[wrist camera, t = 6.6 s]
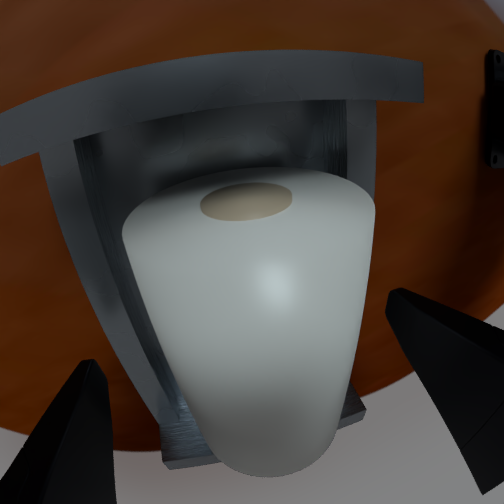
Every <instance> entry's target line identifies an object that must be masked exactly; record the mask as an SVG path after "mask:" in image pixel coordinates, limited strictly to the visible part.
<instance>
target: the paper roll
mask: <svg viewBox="0 0 504 504" xmlns="http://www.w3.org/2000/svg"><path fill="white" fill-rule="evenodd" d="M374 221H375V205H374V203H373V200H372V198H371V197H370V196H369V194H368V193H367V192H366V191H365V190H363V189H362V188H361V187H359V186H358V185H356V184H355V183H353V182H351V181H349V180H347V179H344V178H341V177H339V176H336V175H332V174H329V173H325V172H321V171H315V170H309V169H302V168H290V167H257V168H244V169H236V170H229V171H223V172H218V173H213V174H208V175H204V176H200V177H197V178H193V179H190V180H187V181H184V182H181V183H179V184H176V185H174V186H171V187H169V188H167V189H164V190H162V191H160V192H158V193H157V194H155V195H153V196H151V197H150V198H148V199H147V200H145V201H144V202H142V203H141V204H140V205H139V206H137V207H136V208H135V209H134V210H133V211H132V212H131V213H130V215H129V216H128V218H127V219H126V221H125V223H124V225H123V229H122V237H123V242H124V245H125V248H126V252H127V255H128V258H129V261H130V264H131V267H132V270H133V273H134V276H135V279H136V282H137V285H138V288H139V290H140V293H141V296H142V299H143V302H144V304H145V307H146V310H147V312H148V315H149V318H150V320H151V323H152V325H153V328H154V330H155V333H156V335H157V338H158V340H159V343H160V345H161V348H162V350H163V352H164V355H165V357H166V359H167V362H168V364H169V366H170V369H171V371H172V373H173V375H174V378H175V380H176V382H177V384H178V386H179V389H180V391H181V393H182V395H183V397H184V399H185V401H186V403H187V405H188V407H189V410H190V412H191V414H192V416H193V418H194V420H195V422H196V424H197V425H198V427H199V429H200V431H201V433H202V435H203V437H204V439H205V441H206V443H207V445H208V446H209V448H210V449H211V451H212V452H213V454H214V455H215V456H216V457H217V458H218V459H219V460H220V461H221V462H223V463H224V464H225V465H227V466H229V467H230V468H232V469H234V470H236V471H238V472H241V473H244V474H247V475H251V476H257V477H278V476H284V475H288V474H292V473H294V472H297V471H300V470H302V469H304V468H306V467H307V466H309V465H311V464H312V463H314V462H315V461H316V460H317V459H319V458H320V457H321V456H322V455H323V454H324V452H325V451H326V450H327V449H328V447H329V446H330V444H331V442H332V441H333V439H334V436H335V434H336V430H337V427H338V423H339V420H340V416H341V412H342V408H343V404H344V401H345V397H346V392H347V388H348V384H349V380H350V375H351V371H352V366H353V362H354V357H355V352H356V347H357V342H358V337H359V332H360V326H361V321H362V315H363V309H364V303H365V296H366V289H367V282H368V275H369V268H370V259H371V251H372V242H373V232H374Z"/></svg>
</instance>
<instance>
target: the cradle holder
mask: <svg viewBox="0 0 504 504" xmlns="http://www.w3.org/2000/svg"><path fill="white" fill-rule="evenodd" d="M376 100H388V101H405V102H417V103H424V84H423V62H418V61H413V60H407V59H401V58H395V57H388V56H381V55H372V54H363V53H353V52H340V51H322V50H263V51H244V52H231V53H221V54H211V55H203V56H195V57H188V58H182V59H175V60H170V61H164V62H159V63H154V64H149V65H144V66H139V67H135V68H130V69H126V70H122V71H118V72H114V73H110V74H107V75H103V76H100V77H96V78H93V79H89V80H86V81H83V82H80V83H77V84H73V85H70V86H67V87H65V88H62V89H59V90H56V91H53V92H51V93H48V94H45V95H43V96H40V97H38V98H35V99H33V100H30V101H28V102H25V103H23V104H21V105H19V106H16V107H14V108H12V109H10V110H7V111H5V112H3V113H1V114H0V164H1V166H3V165H5V164H8V163H10V162H13V161H15V160H18V159H20V158H23V157H25V156H28V155H31V154H33V153H36V152H39V154H40V158H41V163H42V167H43V170H44V174H45V178H46V182H47V185H48V189H49V192H50V196H51V199H52V202H53V206H54V209H55V212H56V215H57V218H58V221H59V224H60V227H61V230H62V233H63V236H64V239H65V241H66V244H67V247H68V249H69V252H70V255H71V257H72V260H73V262H74V265H75V267H76V270H77V272H78V275H79V277H80V280H81V282H82V284H83V287H84V289H85V291H86V294H87V296H88V298H89V300H90V302H91V305H92V307H93V309H94V311H95V313H96V315H97V317H98V319H99V322H100V324H101V326H102V328H103V330H104V332H105V334H106V336H107V338H108V339H109V341H110V343H111V345H112V347H113V349H114V351H115V353H116V355H117V356H118V358H119V360H120V362H121V364H122V365H123V367H124V369H125V371H126V372H127V374H128V376H129V378H130V379H131V381H132V383H133V384H134V386H135V388H136V389H137V391H138V393H139V394H140V396H141V398H142V399H143V401H144V402H145V404H146V405H147V407H148V409H149V410H150V412H151V413H152V415H153V416H154V418H155V419H156V421H157V422H158V424H159V431H160V442H161V452H162V461H163V463H164V464H165V465H166V466H167V467H168V469H170V470H172V469H180V468H187V467H194V466H201V465H207V464H213V463H218V462H221V461H220V460H219V459H218V458H217V457H216V456H215V455H214V454H213V452H212V451H211V449H210V448H209V446H208V445H207V443H206V441H205V439H204V437H203V435H202V433H201V431H200V429H199V427H198V425H197V424H196V422H195V420H194V418H193V416H192V414H191V412H190V410H189V407H188V405H187V403H186V401H185V399H184V397H183V395H182V393H181V391H180V389H179V386H178V384H177V382H176V380H175V378H174V375H173V373H172V371H171V369H170V366H169V364H168V362H167V359H166V357H165V355H164V352H163V350H162V348H161V345H160V343H159V340H158V338H157V335H156V333H155V330H154V328H153V325H152V323H151V320H150V318H149V315H148V312H147V310H146V307H145V304H144V302H143V299H142V296H141V293H140V290H139V288H138V285H137V282H136V279H135V276H134V273H133V270H132V267H131V264H130V261H129V258H128V255H127V252H126V248H125V245H124V242H123V237H122V229H123V225H124V223H125V221H126V219H127V218H128V216H129V215H130V213H131V212H132V211H133V210H134V209H135V208H136V207H137V206H139V205H140V204H141V203H142V202H144V201H145V200H147V199H148V198H150V197H151V196H153V195H155V194H157V193H158V192H160V191H162V190H164V189H167V188H169V187H171V186H174V185H176V184H179V183H181V182H184V181H187V180H190V179H193V178H197V177H200V176H204V175H208V174H213V173H218V172H223V171H229V170H236V169H244V168H257V167H290V168H302V169H309V170H315V171H321V172H325V173H329V174H332V175H336V176H339V177H341V178H344V179H347V180H349V181H351V182H353V183H355V184H356V185H358V186H359V187H361V188H362V189H363V190H365V191H366V192H367V193H368V194H369V196H370V197H371V198H372V200H373V203H374V189H375V168H376ZM365 412H366V408H365V406H364V404H363V402H362V401H361V399H360V397H359V396H358V394H357V392H356V390H355V389H354V387H353V385H352V384H351V382H350V380H349V384H348V388H347V392H346V397H345V401H344V404H343V408H342V412H341V416H340V420H339V423H338V427H337V430H338V429H340V428H343V427H345V426H348V425H351V424H353V423H356V422H358V421H361V420H362V419H363V417H364V415H365Z"/></svg>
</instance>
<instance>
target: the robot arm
mask: <svg viewBox="0 0 504 504" xmlns="http://www.w3.org/2000/svg"><path fill="white" fill-rule="evenodd" d="M488 72H489V110H488V130H487V143H486V154H485V163H486V165H487V166H489V167H491V168H504V53H503V52H501V51H499V50H492V49H490V50H489V51H488ZM385 314H386V317H387V320H388V322H389V324H390V326H391V327H392V329H393V331H394V334H395V336H396V338H397V340H398V342H399V344H400V346H401V348H402V350H403V352H404V354H405V355H406V357H407V359H408V360H409V362H410V364H411V365H412V367H413V369H414V370H415V372H416V373H417V375H418V377H419V378H420V380H421V382H422V383H423V385H424V387H425V388H426V390H427V392H428V394H429V395H430V397H431V399H432V401H433V402H434V404H435V405H436V407H437V409H438V411H439V413H440V414H441V416H442V418H443V420H444V422H445V424H446V425H447V427H448V429H449V431H450V433H451V434H452V436H453V438H454V440H455V442H456V444H457V446H458V448H459V449H460V452H461V454H462V456H463V457H464V459H465V461H466V463H467V465H468V467H469V469H470V471H471V473H472V475H473V477H474V479H475V482H476V484H477V486H478V488H479V490H480V492H481V493H482V495H484V494H485V493H487V492H488V491H490V490H492V489H493V488H495V487H496V486H498V485H499V484H501V483H502V482H503V481H504V330H502V329H500V328H497V327H495V326H493V327H492V325H490V324H488V323H485V322H483V321H481V320H479V319H476V318H474V317H472V316H469V315H467V314H464V313H462V312H460V311H457V310H455V309H453V308H450V307H448V306H445V305H443V304H441V303H438V302H436V301H433V300H431V299H429V298H426V297H424V296H421V295H419V294H416V293H414V292H411V291H409V290H407V289H404V288H397V289H394V290H391V291H390V292H389V295H388V300H387V304H386V309H385ZM23 447H24V448H21V450H20V451H19V453H18V455H17V456H16V458H15V459H14V461H13V462H12V464H11V466H10V467H9V469H8V470H7V472H6V473H5V474H4V476H3V477H2V479H1V480H0V504H117V501H116V491H115V478H114V460H113V431H112V420H111V411H110V402H109V391H108V382H107V378H106V376H105V374H104V373H103V371H102V370H101V368H100V366H99V365H98V363H97V362H96V361H95V360H94V359H88V360H82V361H81V362H80V363H79V364H78V366H77V367H76V368H75V370H74V371H73V373H72V374H71V375H70V377H69V378H68V380H67V381H66V382H65V384H64V385H63V387H62V388H61V389H60V391H59V392H58V394H57V395H56V397H55V398H54V400H53V401H52V402H51V404H50V405H49V407H48V408H47V410H46V411H45V413H44V414H43V416H42V417H41V419H40V420H39V422H38V423H37V425H36V426H35V428H34V429H33V431H32V433H31V434H30V436H29V437H28V439H27V440H26V442H25V444H24V445H23Z"/></svg>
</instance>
